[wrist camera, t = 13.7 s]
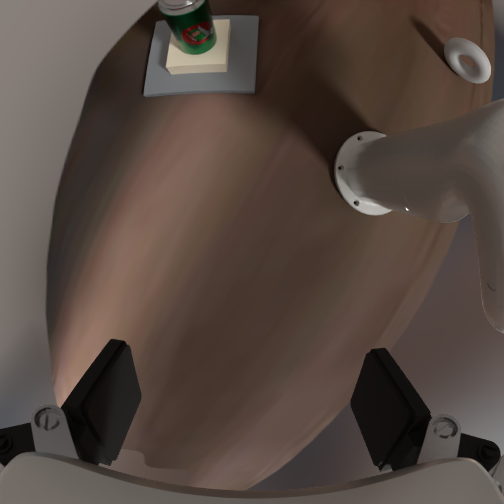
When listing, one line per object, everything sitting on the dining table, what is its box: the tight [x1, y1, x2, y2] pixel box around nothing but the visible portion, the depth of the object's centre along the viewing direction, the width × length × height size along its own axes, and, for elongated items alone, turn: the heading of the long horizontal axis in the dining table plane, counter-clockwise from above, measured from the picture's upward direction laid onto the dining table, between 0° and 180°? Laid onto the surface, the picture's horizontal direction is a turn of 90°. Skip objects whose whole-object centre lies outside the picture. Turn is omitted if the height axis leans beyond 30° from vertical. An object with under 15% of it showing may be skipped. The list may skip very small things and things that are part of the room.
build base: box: [144, 15, 259, 97], centre depth 30 cm, size 16×14×4 cm
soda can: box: [158, 0, 217, 55], centre depth 22 cm, size 5×5×12 cm
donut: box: [444, 38, 491, 83], centre depth 26 cm, size 10×4×10 cm, turn 54°
